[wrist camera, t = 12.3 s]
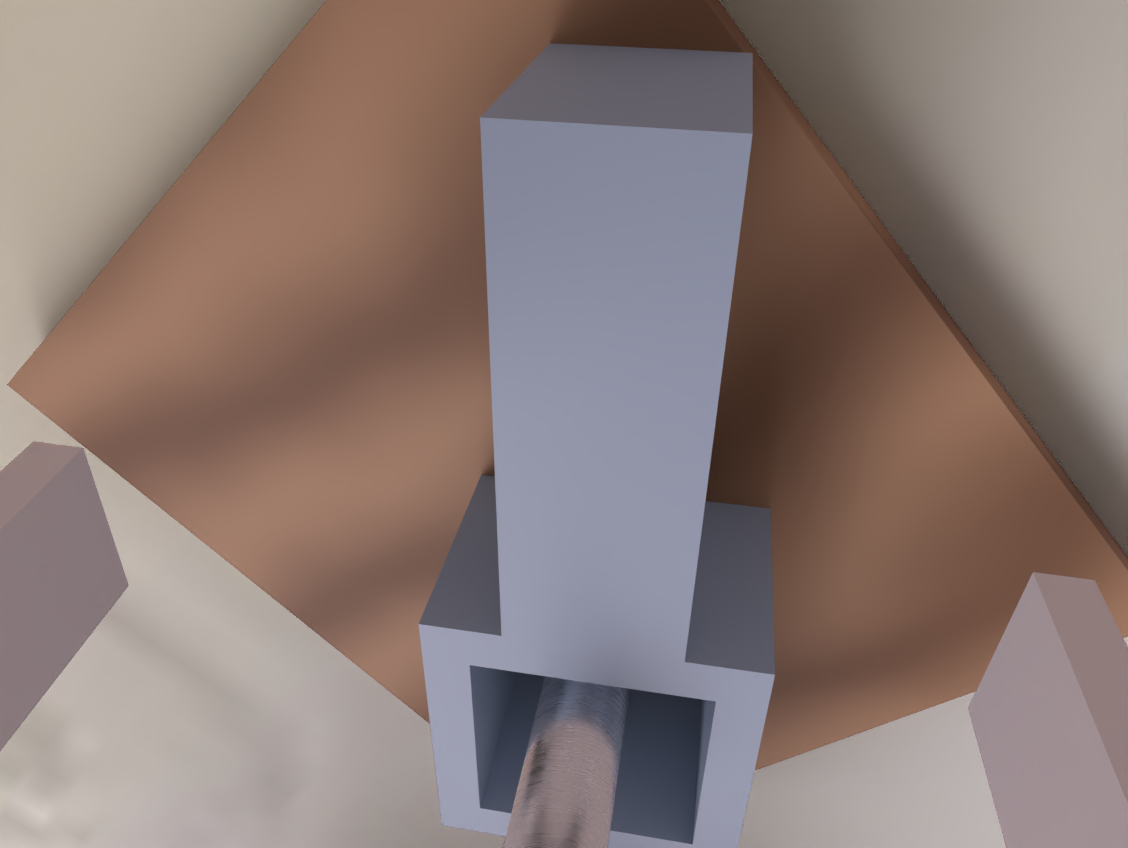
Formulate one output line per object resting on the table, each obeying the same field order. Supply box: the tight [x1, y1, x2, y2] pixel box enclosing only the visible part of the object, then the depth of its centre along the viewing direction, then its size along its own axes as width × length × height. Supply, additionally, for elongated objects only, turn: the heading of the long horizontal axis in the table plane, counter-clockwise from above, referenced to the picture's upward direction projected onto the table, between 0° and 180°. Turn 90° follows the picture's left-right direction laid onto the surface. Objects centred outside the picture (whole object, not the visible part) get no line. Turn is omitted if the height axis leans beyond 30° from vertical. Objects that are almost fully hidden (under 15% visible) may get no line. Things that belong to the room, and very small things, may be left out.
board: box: [7, 0, 1128, 771], centre depth 22 cm, size 22×19×2 cm
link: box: [419, 43, 775, 848], centre depth 20 cm, size 21×7×5 cm, turn 0°
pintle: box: [503, 676, 630, 848], centre depth 21 cm, size 2×2×10 cm
